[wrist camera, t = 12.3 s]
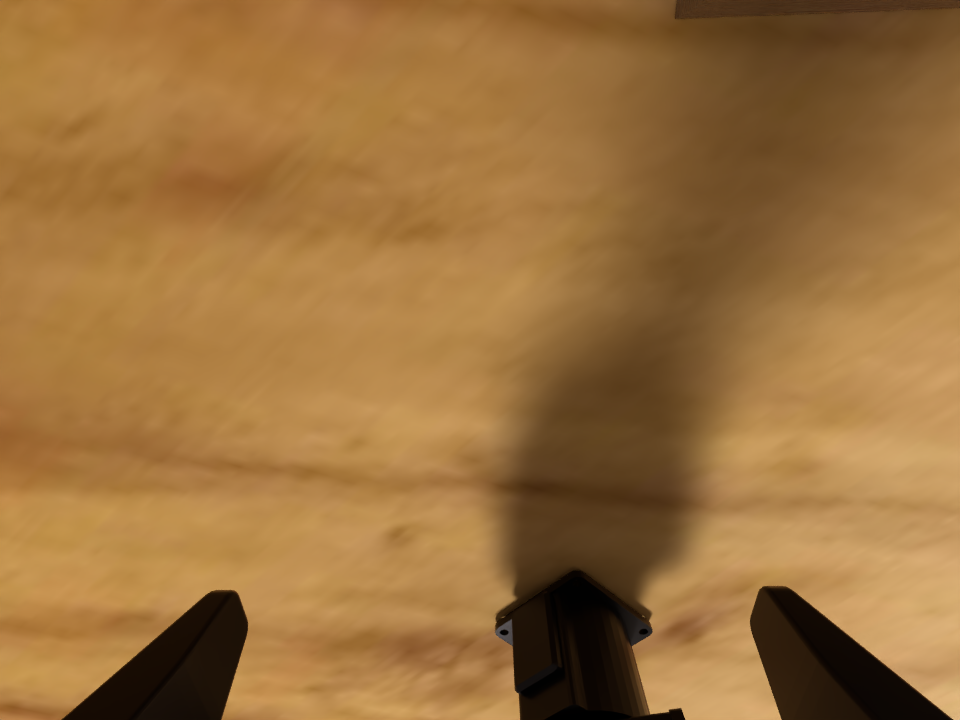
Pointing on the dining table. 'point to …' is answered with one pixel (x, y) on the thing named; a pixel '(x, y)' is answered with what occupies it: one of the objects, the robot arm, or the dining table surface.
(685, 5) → the grey flat block
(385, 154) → the dining table surface
